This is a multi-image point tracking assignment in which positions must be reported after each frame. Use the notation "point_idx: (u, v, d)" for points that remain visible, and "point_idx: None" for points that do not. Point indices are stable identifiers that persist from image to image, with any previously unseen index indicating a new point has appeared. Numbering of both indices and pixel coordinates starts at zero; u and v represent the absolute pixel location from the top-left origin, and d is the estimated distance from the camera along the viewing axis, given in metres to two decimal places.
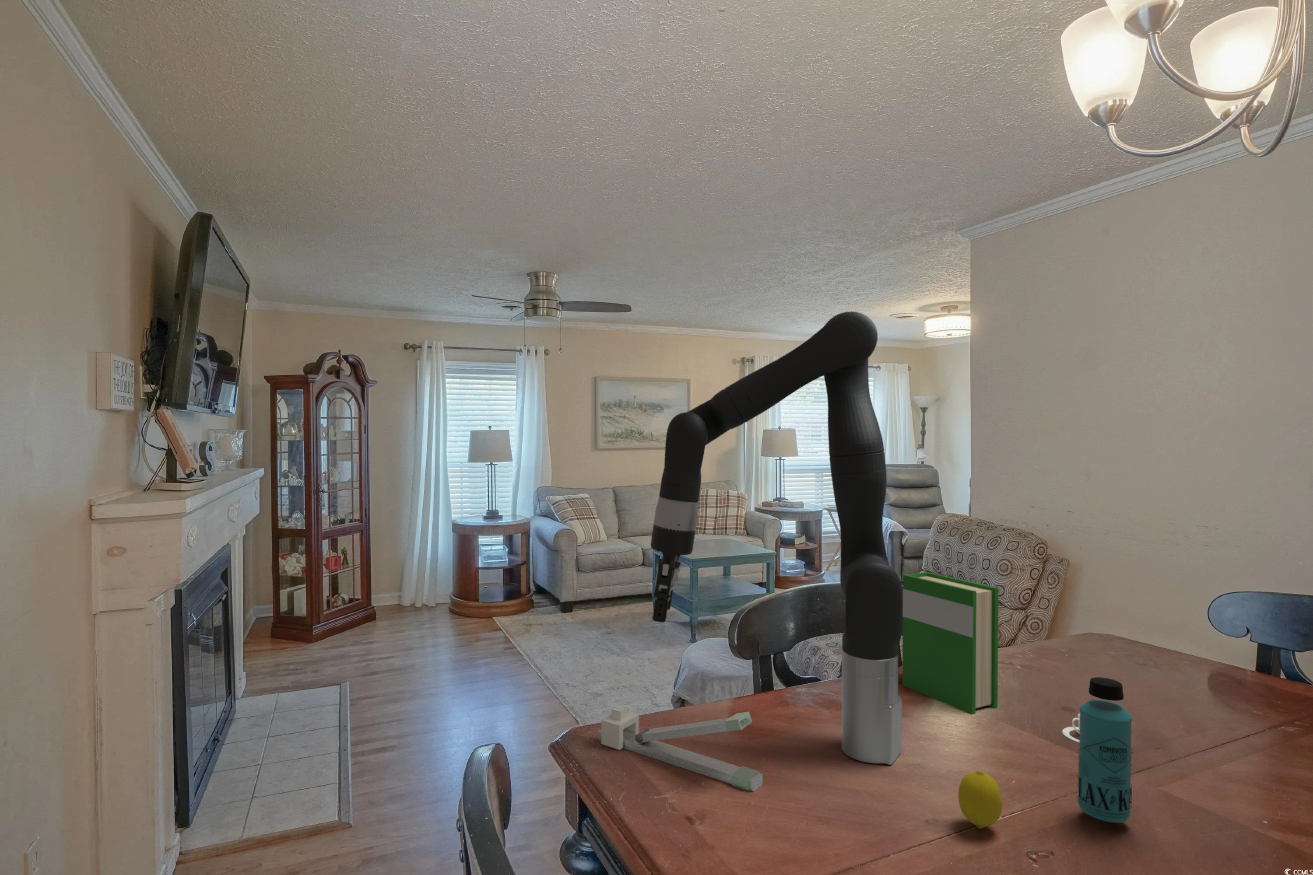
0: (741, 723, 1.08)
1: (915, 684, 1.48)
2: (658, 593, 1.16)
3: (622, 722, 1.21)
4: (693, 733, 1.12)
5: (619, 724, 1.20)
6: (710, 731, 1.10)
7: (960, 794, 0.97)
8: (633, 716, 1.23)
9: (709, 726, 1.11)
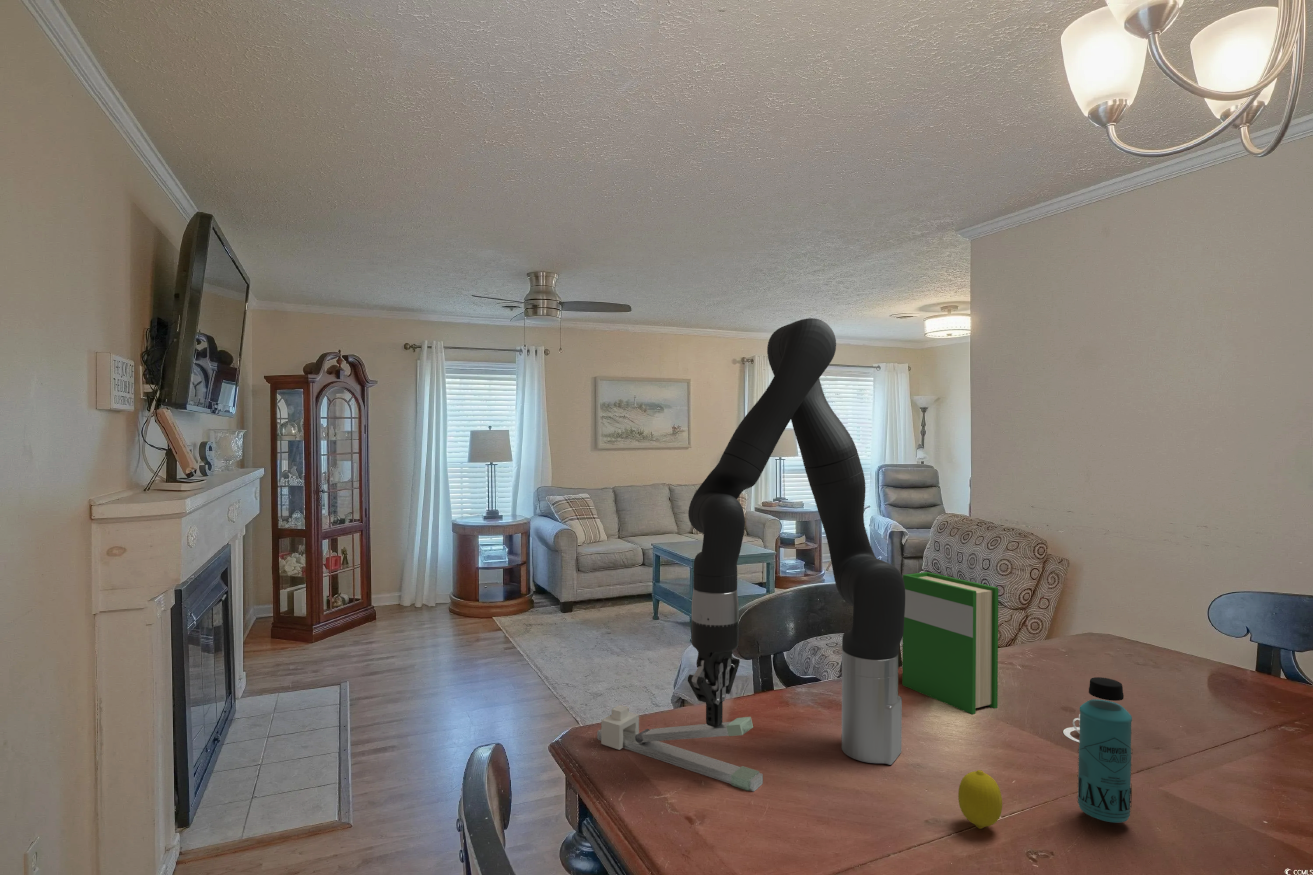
0: (742, 728, 1.07)
1: (915, 684, 1.48)
2: (701, 696, 1.09)
3: (622, 722, 1.21)
4: (694, 736, 1.12)
5: (619, 724, 1.20)
6: (711, 735, 1.10)
7: (960, 794, 0.97)
8: (633, 716, 1.23)
9: (710, 730, 1.10)
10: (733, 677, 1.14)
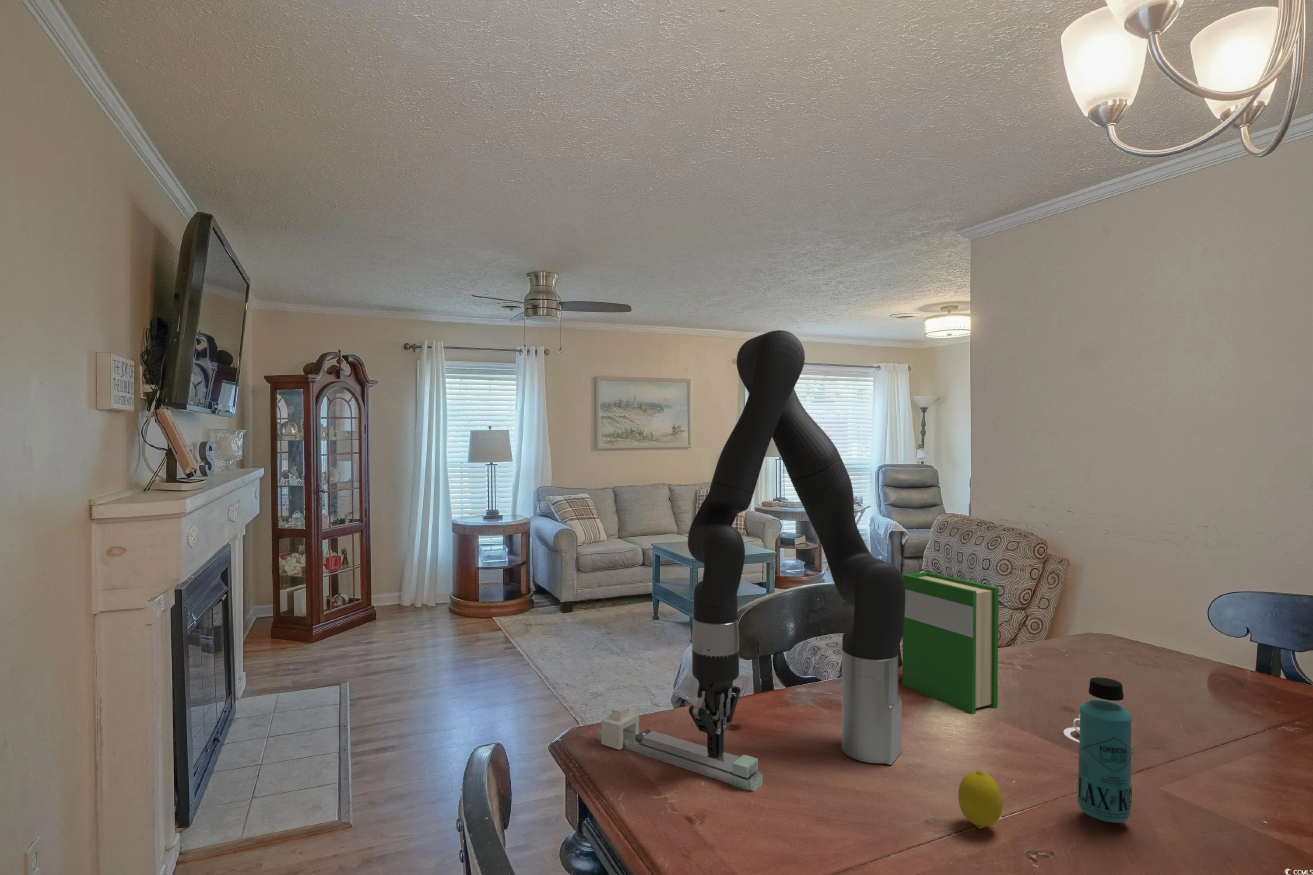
0: (748, 771, 1.07)
1: (915, 684, 1.48)
2: (702, 727, 1.09)
3: (622, 722, 1.21)
4: (696, 759, 1.12)
5: (619, 724, 1.20)
6: (714, 765, 1.10)
7: (960, 794, 0.97)
8: (633, 716, 1.23)
9: (715, 760, 1.10)
10: (734, 706, 1.14)
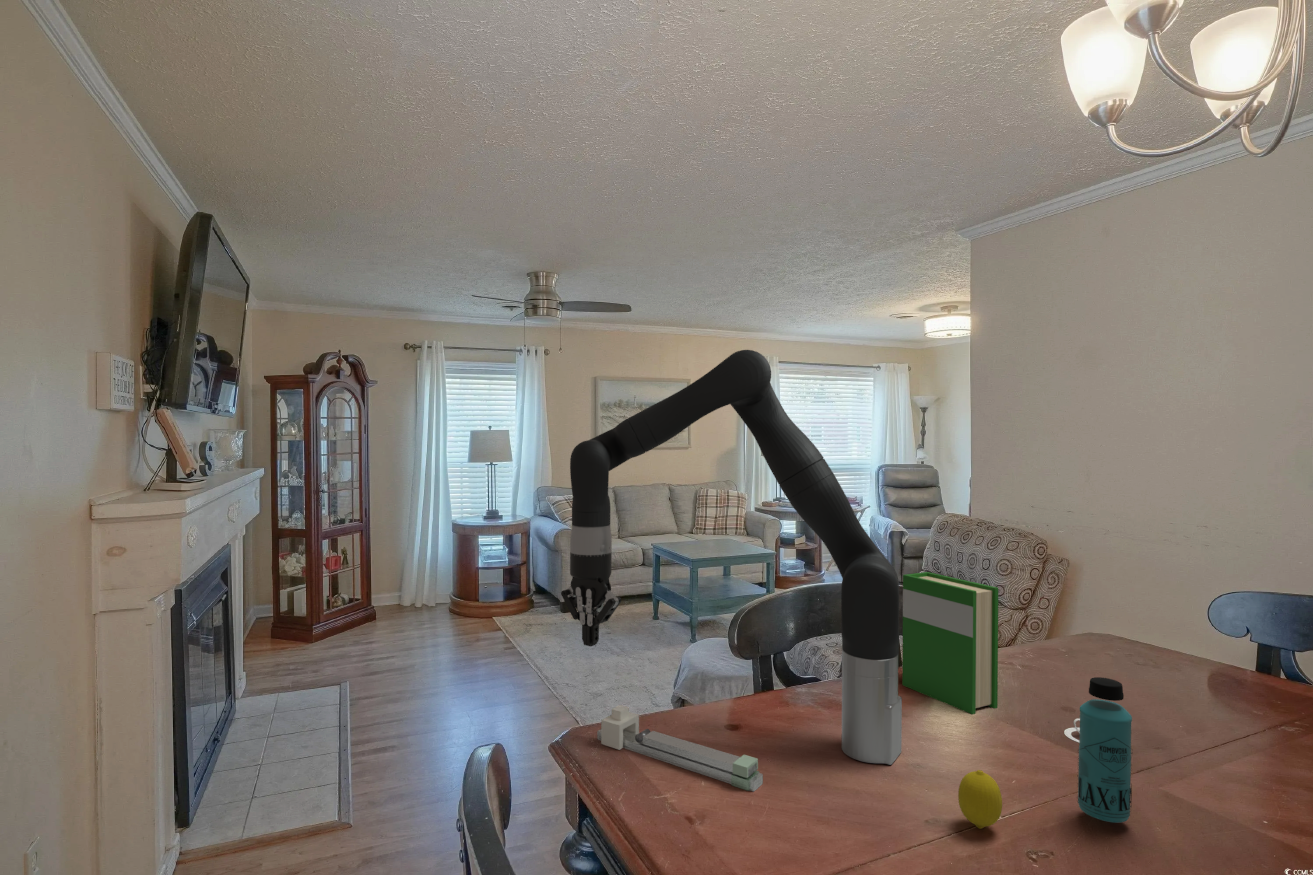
0: (748, 771, 1.07)
1: (915, 684, 1.48)
2: None
3: (622, 722, 1.21)
4: (696, 759, 1.12)
5: (619, 724, 1.20)
6: (714, 765, 1.10)
7: (960, 794, 0.97)
8: (633, 716, 1.23)
9: (715, 760, 1.10)
10: None
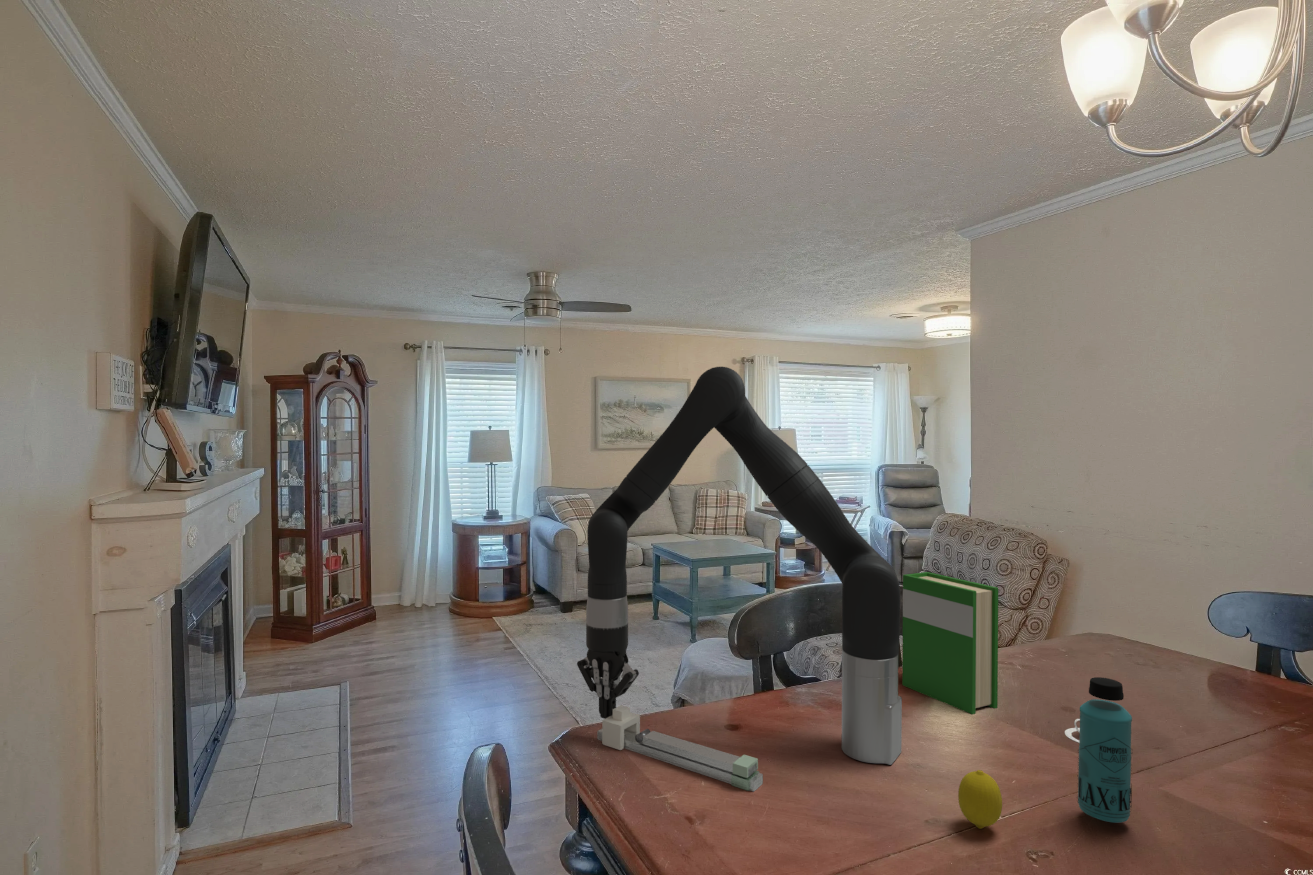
0: (748, 771, 1.07)
1: (915, 684, 1.48)
2: None
3: (623, 722, 1.20)
4: (696, 759, 1.12)
5: (620, 724, 1.20)
6: (714, 765, 1.10)
7: (960, 794, 0.97)
8: (634, 716, 1.23)
9: (715, 760, 1.10)
10: None
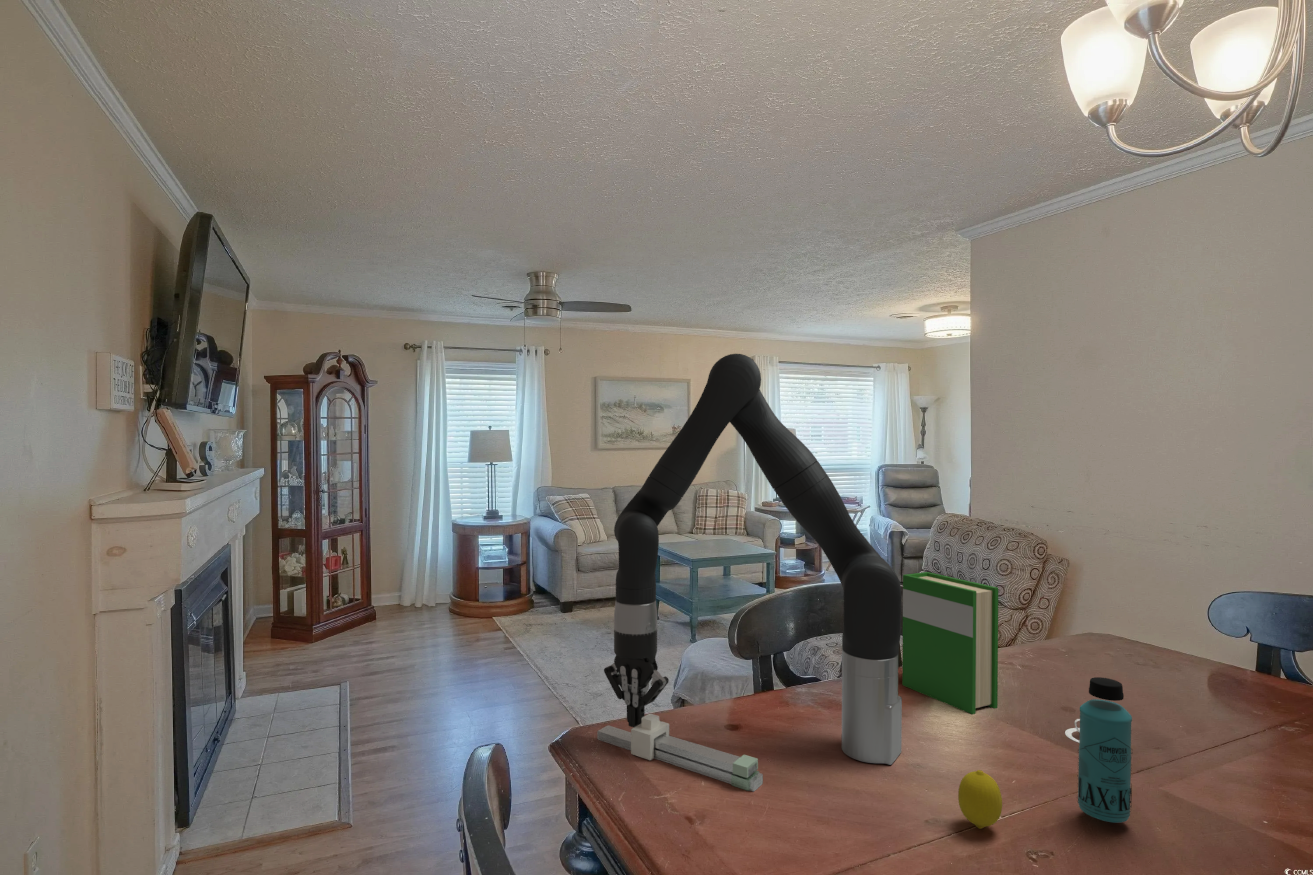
0: (748, 771, 1.07)
1: (915, 684, 1.48)
2: None
3: (653, 731, 1.17)
4: (696, 759, 1.12)
5: (650, 734, 1.16)
6: (714, 765, 1.10)
7: (960, 794, 0.97)
8: (663, 725, 1.19)
9: (715, 760, 1.10)
10: None
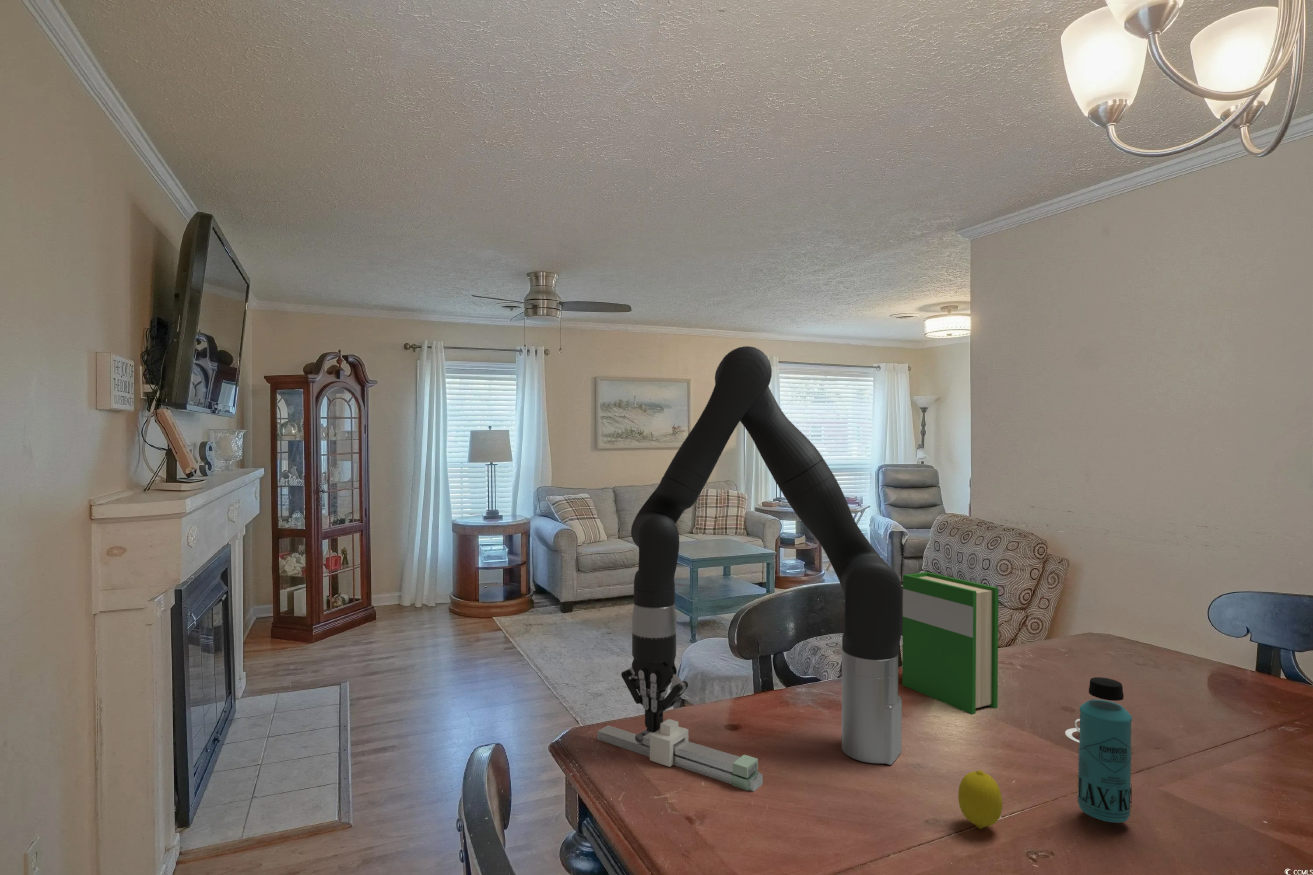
0: (748, 771, 1.07)
1: (915, 684, 1.48)
2: None
3: (672, 737, 1.15)
4: (696, 759, 1.12)
5: (669, 740, 1.14)
6: (714, 765, 1.10)
7: (960, 794, 0.97)
8: (682, 731, 1.17)
9: (715, 760, 1.10)
10: None
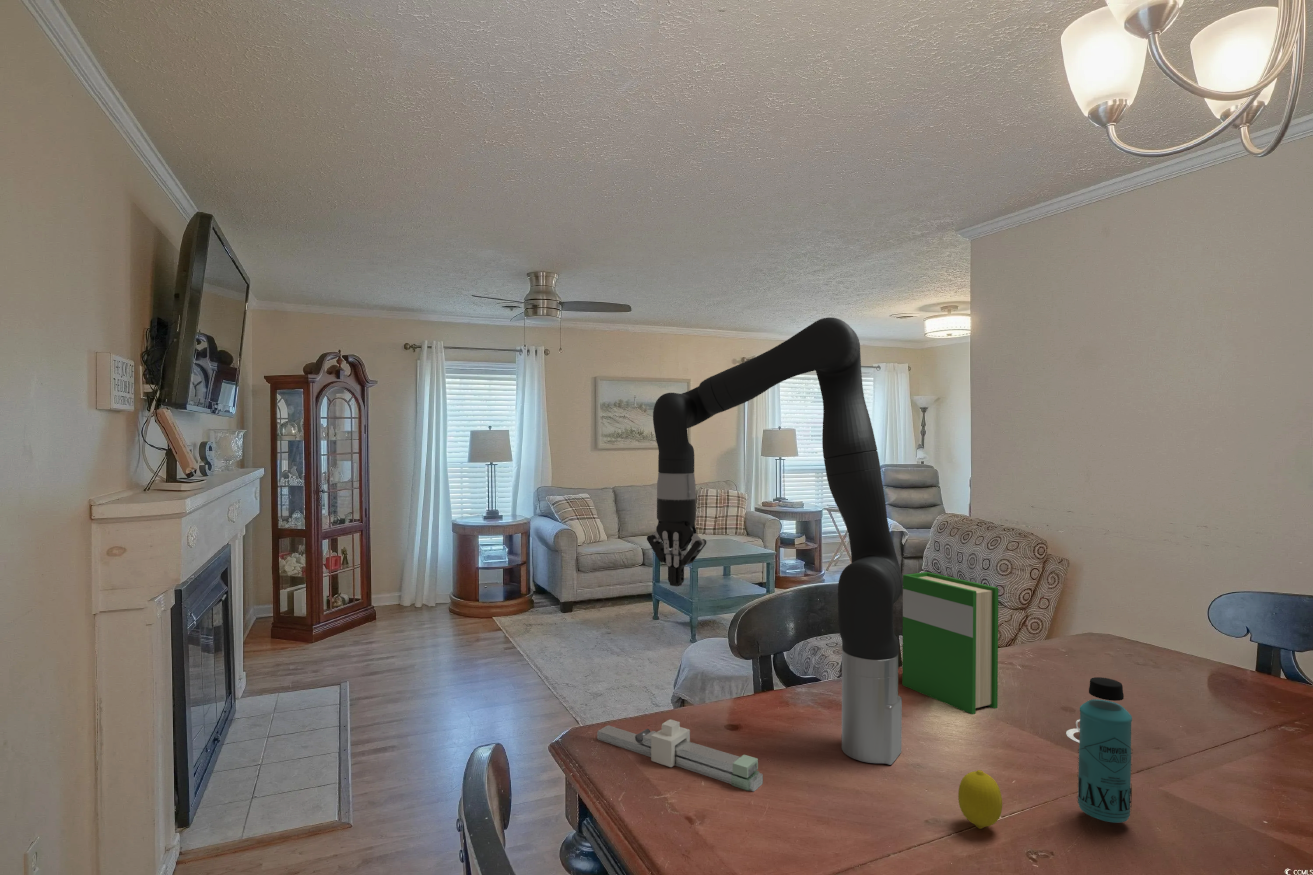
0: (748, 771, 1.07)
1: (915, 684, 1.48)
2: None
3: (673, 738, 1.14)
4: (696, 759, 1.12)
5: (671, 740, 1.14)
6: (714, 765, 1.10)
7: (960, 794, 0.97)
8: (684, 731, 1.17)
9: (715, 760, 1.10)
10: None
